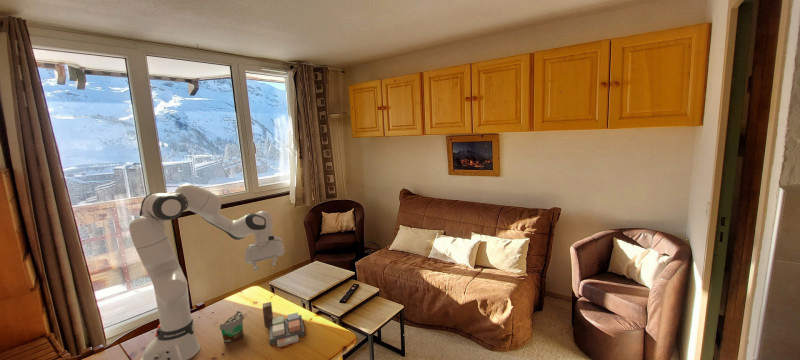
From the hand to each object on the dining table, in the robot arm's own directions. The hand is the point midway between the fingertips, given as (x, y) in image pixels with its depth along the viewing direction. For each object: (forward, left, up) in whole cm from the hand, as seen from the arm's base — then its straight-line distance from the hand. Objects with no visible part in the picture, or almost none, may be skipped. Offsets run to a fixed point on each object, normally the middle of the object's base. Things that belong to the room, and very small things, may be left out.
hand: (264, 267), depth 163 cm
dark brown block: (-1, -4, -28) cm, 28 cm away
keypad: (+7, -17, -28) cm, 33 cm away
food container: (-15, -10, -28) cm, 33 cm away
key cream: (+4, -19, -25) cm, 32 cm away
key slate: (+11, -12, -25) cm, 30 cm away
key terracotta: (+11, -19, -25) cm, 33 cm away
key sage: (+4, -12, -25) cm, 28 cm away
